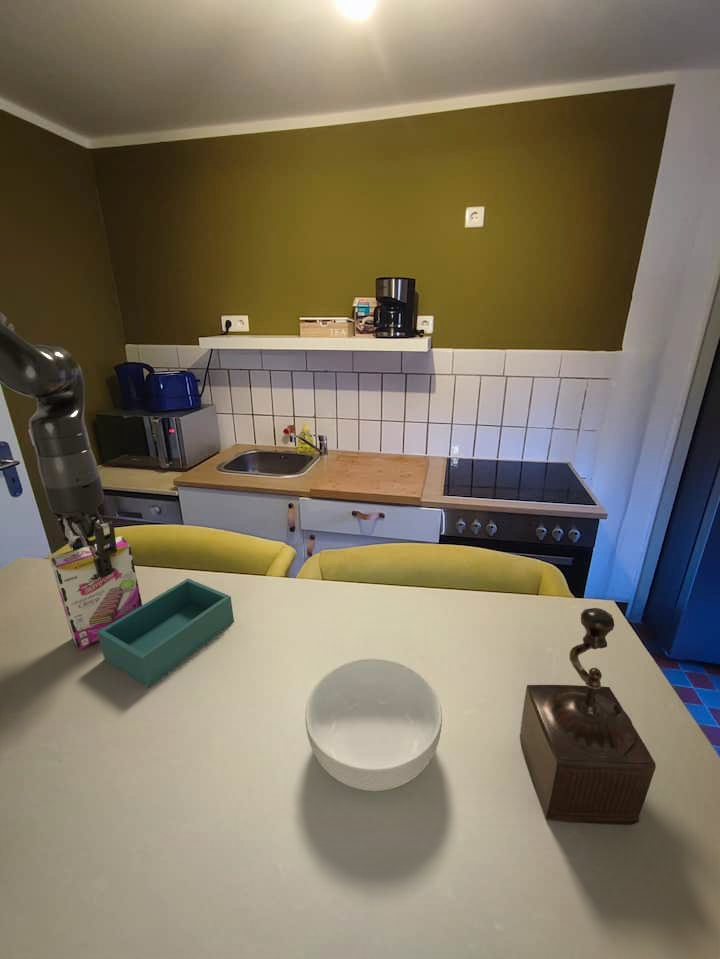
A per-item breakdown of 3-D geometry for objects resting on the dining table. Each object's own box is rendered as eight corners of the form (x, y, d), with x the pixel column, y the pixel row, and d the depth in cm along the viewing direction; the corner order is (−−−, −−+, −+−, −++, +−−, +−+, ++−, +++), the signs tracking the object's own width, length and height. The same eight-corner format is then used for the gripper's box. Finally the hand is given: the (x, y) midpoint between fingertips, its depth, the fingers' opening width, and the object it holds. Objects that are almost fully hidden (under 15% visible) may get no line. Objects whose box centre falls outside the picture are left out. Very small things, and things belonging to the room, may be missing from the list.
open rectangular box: (104, 659, 71) (96, 631, 69) (192, 602, 85) (187, 578, 83) (148, 687, 65) (141, 658, 63) (234, 621, 79) (230, 596, 77)
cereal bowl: (417, 686, 65) (419, 649, 62) (459, 799, 49) (464, 756, 47) (304, 703, 62) (302, 664, 60) (312, 828, 47) (309, 784, 44)
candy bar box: (79, 652, 72) (53, 568, 66) (71, 638, 75) (47, 556, 70) (147, 621, 79) (130, 543, 74) (138, 609, 83) (121, 534, 77)
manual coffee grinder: (647, 826, 47) (690, 702, 40) (544, 822, 47) (571, 698, 41) (584, 706, 61) (609, 601, 55) (506, 703, 62) (521, 599, 55)
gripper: (22, 477, 68) (49, 569, 73) (71, 494, 61) (97, 594, 67) (71, 464, 74) (93, 550, 79) (121, 478, 67) (141, 571, 73)
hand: (95, 570), depth 73 cm, fingers closed on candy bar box, 5 cm apart
